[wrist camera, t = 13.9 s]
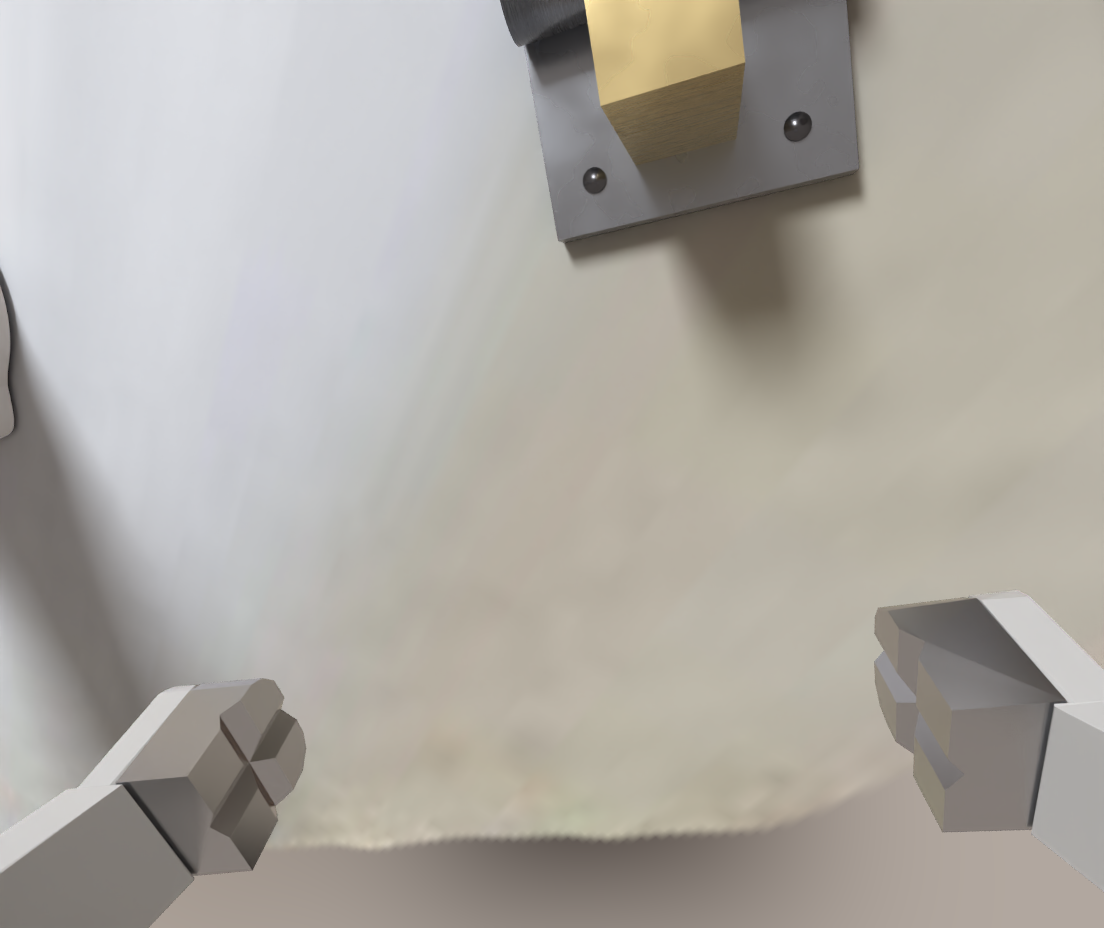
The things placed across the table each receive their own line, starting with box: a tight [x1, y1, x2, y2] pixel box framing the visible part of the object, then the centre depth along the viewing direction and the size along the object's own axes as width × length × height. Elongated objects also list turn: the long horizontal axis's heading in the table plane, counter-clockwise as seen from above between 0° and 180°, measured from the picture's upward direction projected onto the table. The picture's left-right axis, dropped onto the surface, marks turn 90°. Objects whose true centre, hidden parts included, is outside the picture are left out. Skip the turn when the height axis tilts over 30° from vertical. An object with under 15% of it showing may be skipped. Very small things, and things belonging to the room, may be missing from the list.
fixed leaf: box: [500, 0, 859, 243], centre depth 23 cm, size 10×12×4 cm
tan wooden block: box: [584, 0, 745, 166], centre depth 20 cm, size 4×4×8 cm
